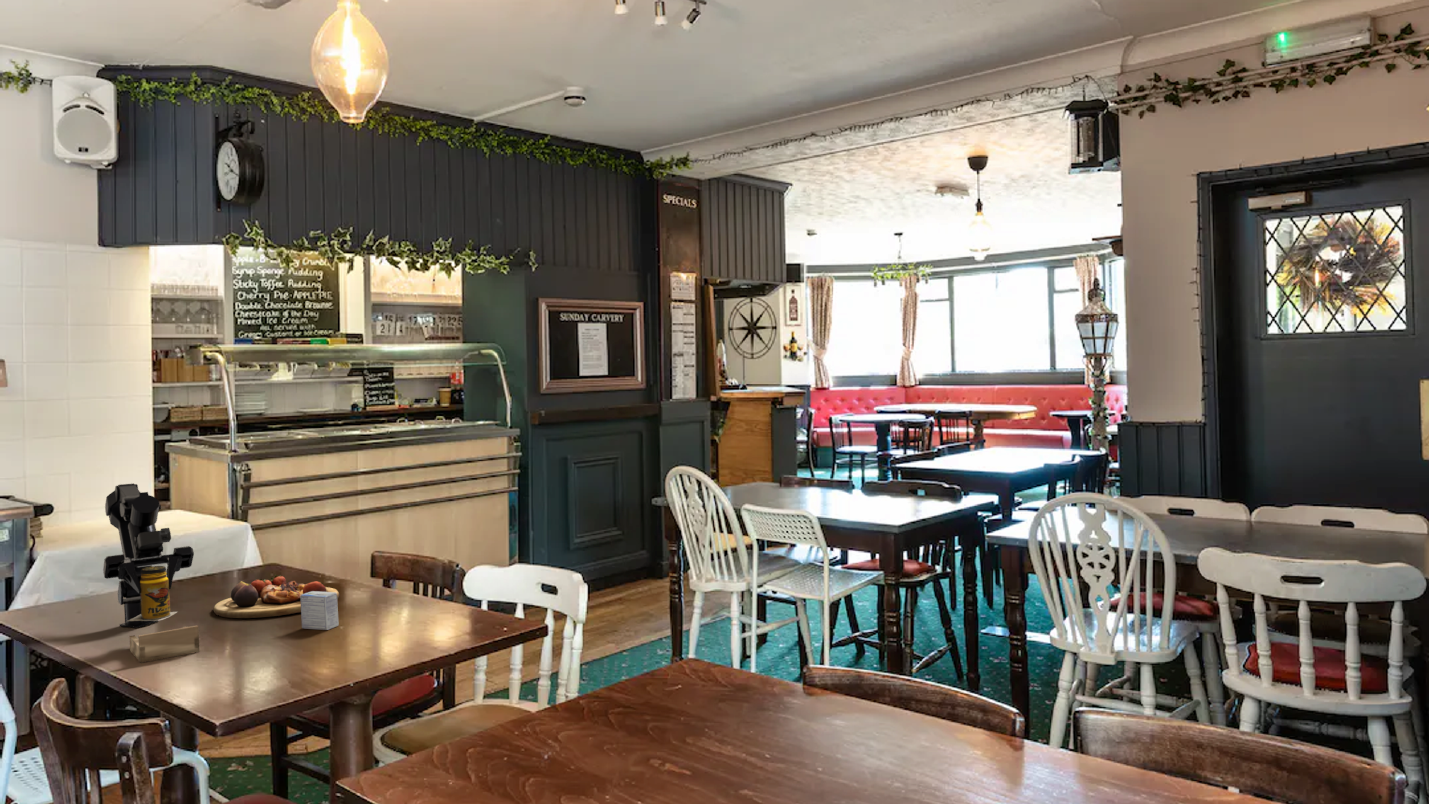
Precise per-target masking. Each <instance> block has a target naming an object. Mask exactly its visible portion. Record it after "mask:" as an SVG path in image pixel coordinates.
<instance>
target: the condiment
mask: <svg viewBox="0 0 1429 804" xmlns="http://www.w3.org/2000/svg"><path fill="white" fill-rule="evenodd" d="M166 571H167V566H164V565H152V567H147V568H143V569H142V570H141V580H140V587H141V593H140V597H141V614H140V615H138V616H136V617H134V618H132V619H130V620H128V621H156V620H159V621H163V620H165V619H168V618H170V617H172V616H174V615H175V614H177V613H178V611H171V602H170V601H171V598H170V597H171V596H170V589H169V580H168V577H167V573H166Z"/></svg>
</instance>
